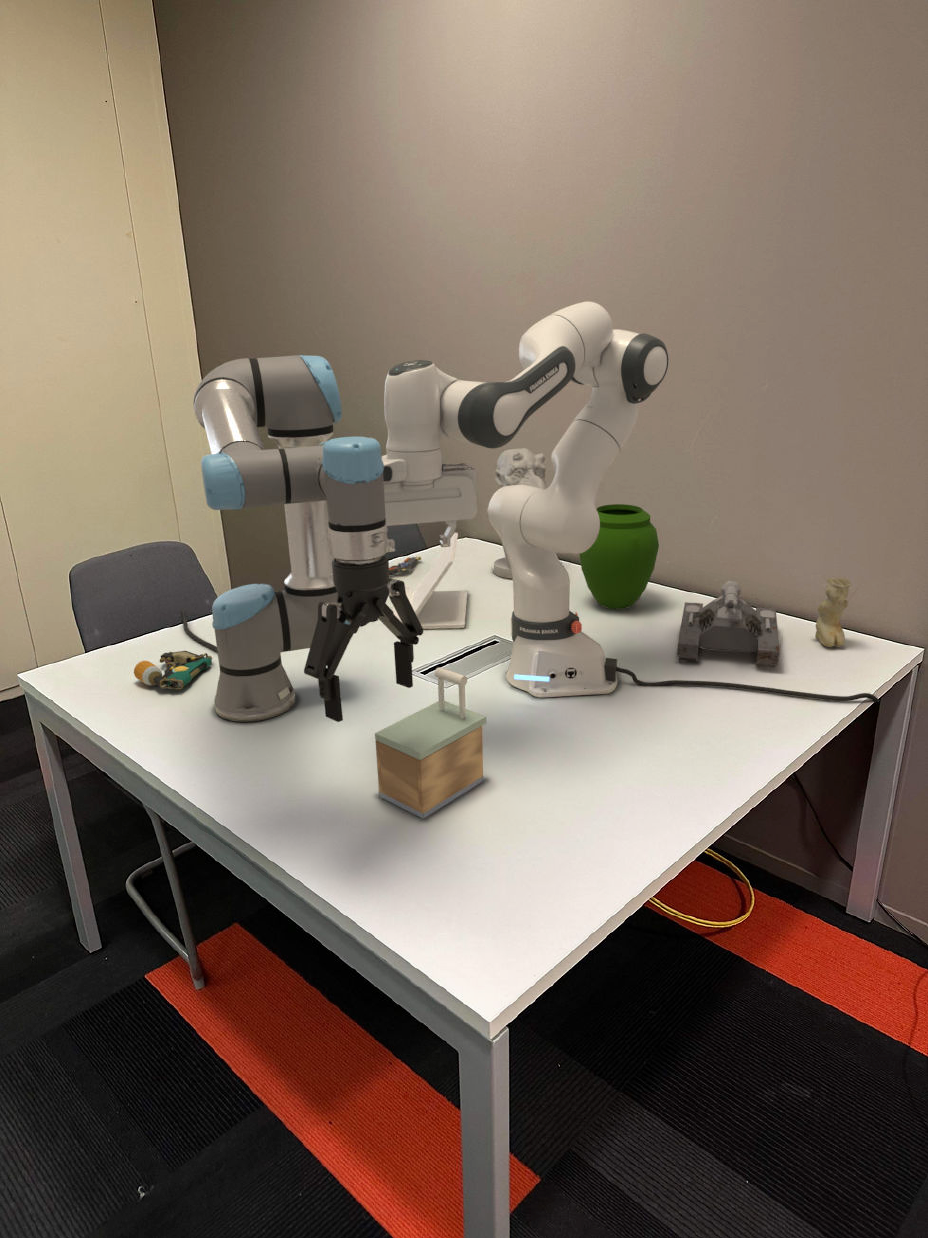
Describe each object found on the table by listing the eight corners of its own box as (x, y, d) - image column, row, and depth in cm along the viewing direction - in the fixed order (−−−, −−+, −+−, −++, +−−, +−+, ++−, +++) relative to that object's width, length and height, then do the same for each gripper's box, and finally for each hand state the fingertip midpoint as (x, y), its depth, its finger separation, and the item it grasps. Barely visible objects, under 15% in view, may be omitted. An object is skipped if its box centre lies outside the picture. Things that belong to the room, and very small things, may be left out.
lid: (441, 706, 142) (439, 658, 139) (486, 723, 136) (485, 674, 133) (375, 740, 131) (371, 689, 128) (420, 760, 125) (417, 708, 122)
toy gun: (371, 570, 238) (405, 567, 236) (389, 556, 256) (421, 553, 254) (372, 580, 239) (407, 577, 237) (390, 565, 257) (422, 562, 255)
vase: (599, 587, 227) (601, 497, 218) (668, 600, 216) (673, 505, 208) (562, 608, 212) (564, 513, 204) (634, 623, 202) (639, 523, 193)
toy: (683, 622, 202) (687, 561, 196) (773, 628, 196) (779, 566, 191) (676, 664, 179) (680, 596, 174) (777, 673, 173) (785, 603, 168)
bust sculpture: (503, 593, 225) (502, 460, 212) (483, 567, 247) (480, 445, 234) (562, 587, 228) (563, 456, 215) (536, 562, 250) (536, 441, 237)
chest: (439, 761, 145) (437, 708, 141) (483, 780, 138) (482, 725, 135) (379, 796, 135) (375, 740, 131) (423, 818, 129) (420, 760, 125)
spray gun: (177, 659, 191) (231, 671, 185) (120, 684, 176) (176, 698, 171) (176, 641, 190) (230, 653, 184) (118, 665, 175) (174, 678, 169)
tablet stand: (467, 593, 225) (465, 531, 219) (465, 628, 202) (462, 559, 196) (399, 594, 226) (395, 532, 220) (388, 629, 203) (384, 560, 197)
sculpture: (821, 649, 184) (830, 583, 179) (808, 637, 191) (816, 573, 185) (848, 649, 184) (858, 582, 179) (834, 636, 191) (843, 572, 185)
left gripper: (304, 585, 102) (319, 742, 110) (443, 540, 120) (449, 678, 127) (265, 574, 107) (283, 726, 114) (405, 532, 124) (413, 666, 132)
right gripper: (471, 458, 143) (472, 538, 148) (349, 466, 138) (355, 549, 143) (481, 465, 138) (482, 547, 142) (355, 473, 133) (360, 559, 137)
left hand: (370, 701), depth 121 cm, fingers open, 13 cm apart
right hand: (417, 548), depth 143 cm, fingers open, 8 cm apart
